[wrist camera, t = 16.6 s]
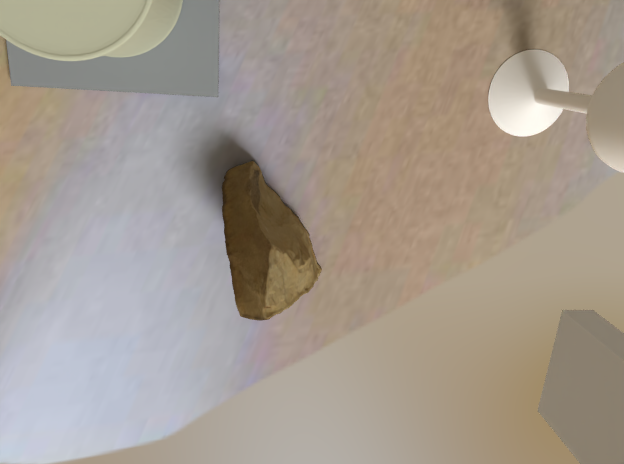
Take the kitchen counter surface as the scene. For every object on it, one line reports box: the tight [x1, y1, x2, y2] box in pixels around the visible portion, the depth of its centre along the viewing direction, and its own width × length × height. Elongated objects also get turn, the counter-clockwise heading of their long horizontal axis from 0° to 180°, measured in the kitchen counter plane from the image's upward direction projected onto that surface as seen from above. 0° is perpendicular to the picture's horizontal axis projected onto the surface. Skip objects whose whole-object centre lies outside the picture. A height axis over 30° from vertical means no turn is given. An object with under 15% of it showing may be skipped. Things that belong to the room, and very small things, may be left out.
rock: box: [222, 161, 322, 320], centre depth 40 cm, size 11×9×10 cm
